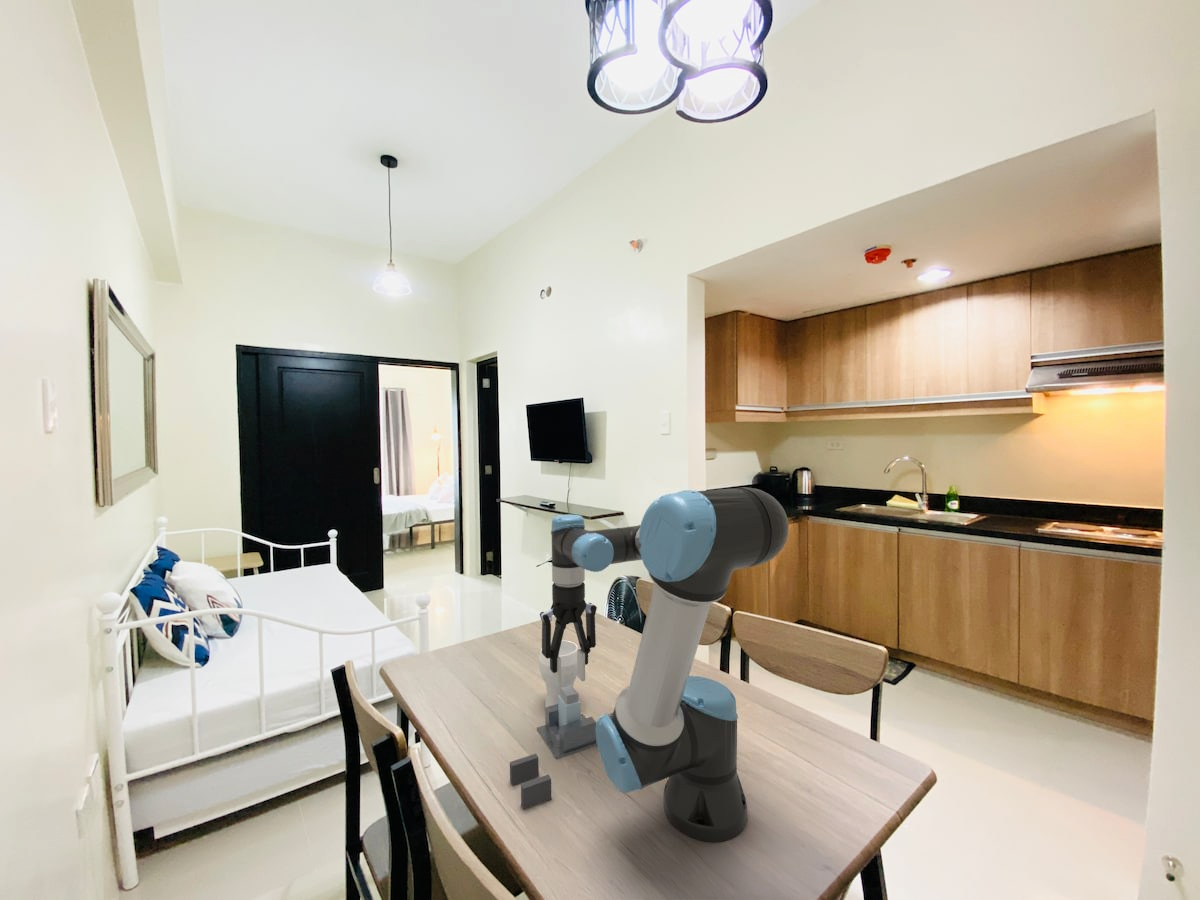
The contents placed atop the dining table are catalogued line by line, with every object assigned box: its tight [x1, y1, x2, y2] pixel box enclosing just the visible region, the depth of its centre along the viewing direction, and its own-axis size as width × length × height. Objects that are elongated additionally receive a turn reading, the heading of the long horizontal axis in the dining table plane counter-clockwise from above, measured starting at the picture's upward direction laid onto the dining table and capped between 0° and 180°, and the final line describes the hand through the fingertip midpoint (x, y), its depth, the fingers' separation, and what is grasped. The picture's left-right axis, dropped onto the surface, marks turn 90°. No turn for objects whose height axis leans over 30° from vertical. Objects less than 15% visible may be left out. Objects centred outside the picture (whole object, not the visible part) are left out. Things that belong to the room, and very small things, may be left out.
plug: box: [558, 685, 582, 727], centre depth 112 cm, size 5×4×10 cm
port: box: [536, 704, 598, 760], centre depth 111 cm, size 12×12×5 cm
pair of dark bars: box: [509, 753, 553, 811], centre depth 94 cm, size 8×6×4 cm, turn 28°
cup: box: [538, 639, 579, 709], centre depth 124 cm, size 11×11×15 cm
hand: (569, 681), depth 111 cm, fingers open, 5 cm apart
